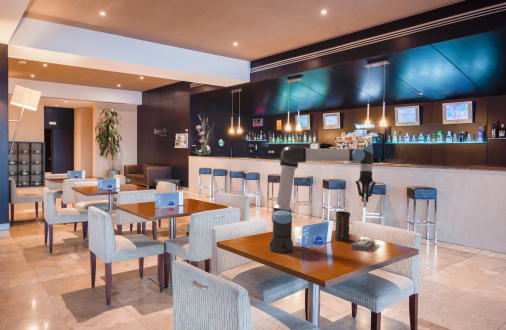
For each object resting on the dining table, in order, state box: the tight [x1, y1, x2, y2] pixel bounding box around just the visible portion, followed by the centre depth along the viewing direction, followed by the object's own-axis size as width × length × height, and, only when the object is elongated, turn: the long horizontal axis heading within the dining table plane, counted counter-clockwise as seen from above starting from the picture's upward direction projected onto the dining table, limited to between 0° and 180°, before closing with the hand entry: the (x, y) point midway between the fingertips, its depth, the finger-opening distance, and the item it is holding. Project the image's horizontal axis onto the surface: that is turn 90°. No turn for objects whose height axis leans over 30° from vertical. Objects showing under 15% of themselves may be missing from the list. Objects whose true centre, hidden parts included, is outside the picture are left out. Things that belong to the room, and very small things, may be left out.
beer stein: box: [333, 210, 351, 242], centre depth 247 cm, size 15×11×20 cm
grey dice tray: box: [350, 239, 376, 253], centre depth 229 cm, size 10×18×3 cm, turn 148°
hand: (364, 207), depth 228 cm, fingers closed
